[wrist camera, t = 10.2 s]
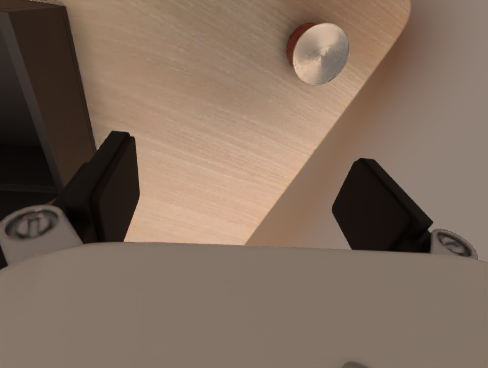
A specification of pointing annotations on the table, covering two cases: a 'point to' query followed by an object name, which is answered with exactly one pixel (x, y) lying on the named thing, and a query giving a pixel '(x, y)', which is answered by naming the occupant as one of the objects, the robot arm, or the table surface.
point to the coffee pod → (317, 52)
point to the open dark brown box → (40, 99)
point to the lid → (22, 201)
